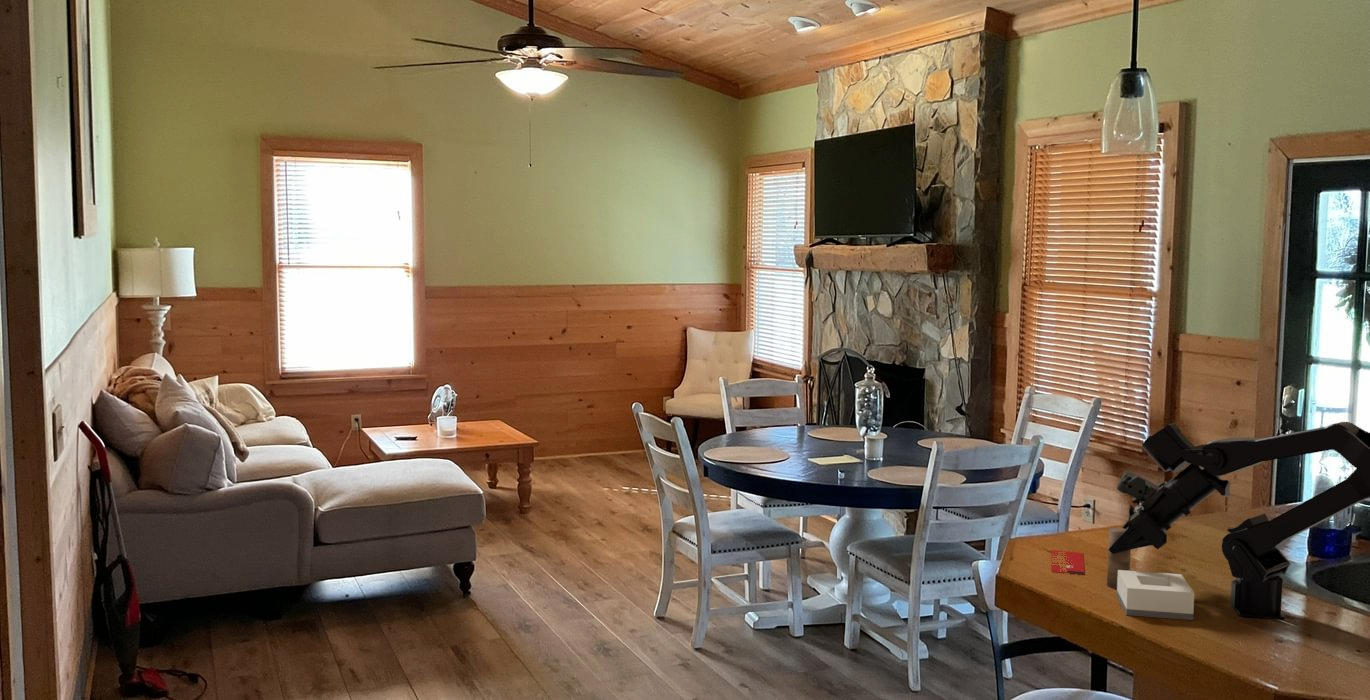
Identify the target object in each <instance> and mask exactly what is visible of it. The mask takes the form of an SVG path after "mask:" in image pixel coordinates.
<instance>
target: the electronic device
mask: <svg viewBox="0 0 1370 700" xmlns="http://www.w3.org/2000/svg"><path fill="white" fill-rule="evenodd" d="M1063 551H1064V552H1066V551H1065V550H1055V549H1053V550H1051V559H1052V558H1057V557H1052V556H1057V555H1058V554H1059V553H1058V552H1063ZM1052 552H1054V553H1052ZM1055 552H1057V553H1055ZM1052 554H1054V555H1052ZM1055 554H1057V555H1055ZM1061 554H1063V553H1061ZM1064 554H1066V555H1064V556H1067V558H1066V557H1064V558H1065V561H1066V562H1068V563H1069V564H1068V563H1066V564H1065V563H1064V564H1065V565H1066V567H1067V568H1066V570H1067V571H1066V572H1065V570H1064V571H1063V569H1062V568H1063V566H1062V567H1061V568H1060V566H1059V565H1051V567H1050V570H1051V571H1052V572H1051V571H1050V572H1051V573H1054V572H1059V573H1058V574H1064V573H1070V574H1069V575H1075V574H1079V575H1078V576H1085V575H1086V572H1085V561H1084V560H1085V559H1084V553H1083V552H1078V551H1077V552H1075V551H1069V550H1068V551H1067V552H1066V553H1064ZM1061 556H1063V555H1061ZM1068 557H1070V558H1068ZM1066 559H1067V560H1066ZM1054 560H1055V559H1054ZM1057 560H1058V559H1057ZM1059 560H1060V559H1059ZM1062 560H1063V559H1062ZM1068 560H1069V561H1068ZM1071 560H1072V561H1071ZM1051 562H1052V561H1051ZM1071 563H1072V564H1071ZM1052 564H1059V563H1058V562H1057V563H1055V562H1054V563H1053V562H1052ZM1061 564H1063V562H1062V563H1061ZM1073 564H1074V565H1073ZM1065 565H1064V566H1065ZM1068 565H1069V566H1068ZM1064 568H1065V567H1064ZM1060 569H1062V570H1061V572H1060Z"/></svg>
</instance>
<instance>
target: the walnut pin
mask: <svg viewBox="0 0 1370 700" xmlns="http://www.w3.org/2000/svg"><path fill="white" fill-rule="evenodd" d="M1125 530H1126V529H1123V528H1122V527H1112V528H1111V527H1110V528H1109V530H1108V547H1107V548H1108V549H1107V550H1108V551H1107V570H1106V571H1107V573H1106V574H1107V575H1106V586H1107V587H1109V588H1111V589H1114V590H1117V578H1118V570H1126V571H1131V550H1132V549H1131V550H1127V551H1123V552H1119V553H1115V554H1112V553H1111V552H1110V551H1109V548H1110V546H1111V545H1112V544H1113V543H1114V542H1115V541H1116V540H1117V538H1118V537H1119V536H1120V535H1121V534H1122V533H1123V532H1124V531H1125Z"/></svg>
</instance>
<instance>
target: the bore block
mask: <svg viewBox="0 0 1370 700" xmlns="http://www.w3.org/2000/svg"><path fill="white" fill-rule="evenodd" d="M1116 597H1117V599H1118V602H1119V603H1120V606H1121V607H1122V610H1123V611H1124V613H1125V615H1126V616H1134V617H1147V618H1149V617H1150V618H1160V619H1162V618H1163V619H1172V620H1173V619H1175V620H1185V621H1186V620H1189V621H1193V620H1194V610H1195V609H1194V608H1195V606H1194V605H1195V592H1194V590H1193V589H1192V587H1191V586H1190V585H1189V583H1188V582H1187V581H1186V579H1185V577H1184V576H1183V575H1182V574H1181V573H1169V572H1152V571H1139V570H1137V571H1136V570H1130V571H1126V570H1118V578H1117V589H1116Z"/></svg>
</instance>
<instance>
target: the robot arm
mask: <svg viewBox="0 0 1370 700" xmlns="http://www.w3.org/2000/svg"><path fill="white" fill-rule="evenodd" d="M1141 447H1142V449H1143V450H1144V451H1145V452H1146V453H1147V455H1149V457H1151V459H1152V460H1153V461H1154V462H1155V463H1156V464H1157V466H1158V467H1159V468H1160V469H1161V470H1162V471H1163V472H1164V473H1166V472H1169V471H1171V472H1172V474H1176V473H1177V474H1176V475H1175V476H1174V477H1173V478H1171V479H1169V481H1161V482H1160V483H1159V484H1155V483H1154V482H1152V481H1150V480H1148V479H1146V478H1144V477H1142V476H1141V475H1139V474H1136V473H1134V472H1133V471H1131V470H1128V469H1126V470H1125V471H1124V473H1123V474H1122V476H1121V477H1120V479H1119V481H1118V483H1117V485H1116V486H1117V487H1116V489H1117V491H1119V492H1121V493H1123V494H1127V495H1129V496H1130V497H1132V498H1131V502H1132V503H1133V504H1134V505H1135V504H1137V505H1136V506H1135V507H1134V506H1133V505H1131V504H1130V505H1129V511H1128V519H1127V520H1126V522H1124V523H1123V525H1122V527H1121V528H1123V529H1126V530H1125V531H1124V532H1123V533H1122V534H1121V535H1120V536H1119V537H1118V538H1117V540H1116V541H1115V542H1114V543H1113V544H1112V545H1111V546H1110V548H1109V551H1110V552H1111V553H1112V554H1115V553H1119V552H1123V551H1127V550H1135V549H1141V548H1144V547H1150V546H1151V547H1154V548H1155V549H1156V550H1160V548H1161V547H1163V546H1164V545H1165V544H1167V540H1168V539H1167V536H1168V534H1167V533H1168V532H1167V531H1169V530H1170V529H1171V528H1172V524H1174V523H1175V522H1177V521H1178V520H1179V519H1181V518H1182V517H1183V516H1185V517H1187V516H1188V515H1190V514H1191V513H1192V509H1193V508H1194V507H1197V505H1199V504H1200V503H1201V502H1203V501H1204V500H1205V499H1207V498H1208V497H1209V496H1210V495H1212V494H1213V493H1215V492H1216V491H1217V492H1218V493H1219V494H1220V496H1223V497H1225V498H1230V494H1231V493H1230V487H1231V484H1232V482H1231V481H1230V480H1229V479H1222V478H1221V476H1224V475H1225V476H1226V475H1229V474H1233V473H1236V472H1240V471H1244V470H1246V469H1247V470H1248V469H1249V468H1252V467H1255V466H1257V465H1260V464H1263V463H1264V462H1267V461H1274V460H1279V459H1285V458H1291V457H1292V458H1293V457H1296V456H1297V457H1298V456H1302V455H1310V454H1315V453H1321V452H1326V451H1331V450H1332V451H1335V452H1336V453H1338V454H1339V455H1341V457H1343V458H1344V459H1345V460H1346V461H1347V462H1348V463H1349V464H1350V465H1352V467H1354V468H1355V470H1353V471H1352V472H1351V474H1349V476H1348V477H1347V478H1345V479H1344V480H1343V481H1341V482H1338V483H1337V484H1335V485H1333V486H1332V487H1330V488H1328V489H1325V490H1324V491H1322V492H1320V493H1319V494H1317V495H1315V496H1312V497H1311V498H1309V499H1308V500H1305V501H1304V502H1302V503H1300V504H1298V505H1296V506H1294V507H1293V508H1290V509H1288V510H1287V511H1284V512H1283V513H1281V514H1279V515H1278V516H1275V517H1274V518H1272V519H1270V520H1269V518H1268V516H1267V514H1266V513H1262V514H1258V515H1255V516H1253V517H1249V518H1247V519H1245V520H1243V522H1241V523H1240V524H1238V525H1237V526H1234V527H1230V528H1227V530H1226V531H1227V532H1229V533H1227V534H1226V535H1225V536H1224V537H1223V538H1222V540H1221V542H1222V543H1221V551H1222V555H1223V556H1224V558H1225V559H1226V560H1227V562H1228V566H1229V570H1230V573H1231V576H1232V577H1234V579H1232V580H1231V584H1230V586H1231V587H1230V605H1231V606H1232V607H1233V609H1234V610H1235V611H1236V613H1238V615H1239V616H1241V617H1246V618H1247V617H1248V618H1261V619H1272V620H1273V619H1274V620H1275V619H1276V620H1285V615H1284V614H1283V613H1282V599H1283V585H1284V584H1283V583H1284V582H1283V580H1284V578H1282V577H1281V575H1285V574H1286V573H1287V571H1288V570H1289V567H1290V565H1291V563H1290V561H1289V560H1288V559H1287V558H1286V556H1285V555H1284V554H1283V553H1282V551H1281V550H1282V548H1284V547H1285V545H1287V543H1288V542H1290V541H1291V539H1293V537H1296V536H1299V535H1300V534H1301V533H1303V532H1305V531H1307V530H1309V529H1311V528H1313V527H1315V526H1317V525H1319V524H1320V523H1322V522H1325V521H1326V520H1329V519H1330V518H1332V517H1334V516H1337V515H1339V514H1341V513H1342V512H1344V511H1345V510H1348V509H1349V508H1351V507H1353V506H1355V505H1357V504H1359V503H1361V502H1363V501H1365V500H1367V499H1370V432H1369V431H1366V430H1364V429H1363V428H1361V427H1360V426H1358V425H1356V424H1355V423H1353V422H1350V421H1339V422H1335V423H1331V424H1329V425H1327V426H1322V427H1317V428H1312V429H1306V430H1301V431H1296V432H1290V433H1285V434H1280V435H1275V436H1268V437H1227V438H1222V439H1217V440H1212V441H1210V442H1206V443H1205V444H1203V443H1202V444H1200V445H1194V444H1193V442H1191V441H1190V440H1189V439H1188V438H1187V437H1186V436H1185V434H1184V433H1183V432H1182V431H1181V429H1180V428H1179V426H1177V424H1176V423H1169V424H1167V425H1166V426H1165V427H1163V428H1161V429H1159V430H1158V431H1157V432H1154V434H1152V435H1150V436H1148V437H1147V438H1146V439H1145V440H1144V441H1143V443H1142V444H1141ZM1178 472H1179V473H1178Z"/></svg>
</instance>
